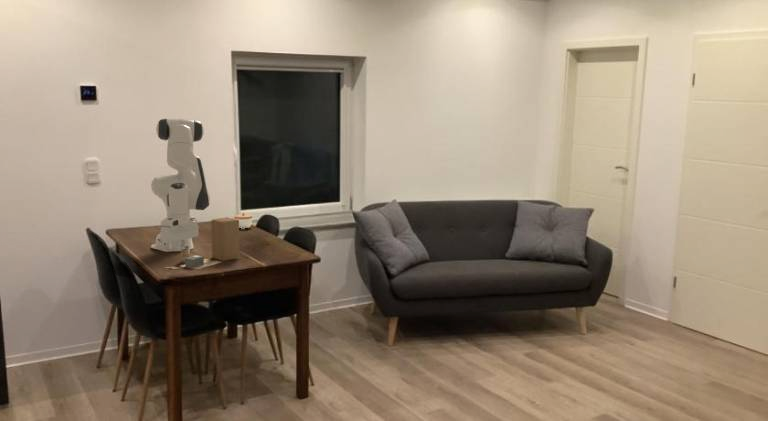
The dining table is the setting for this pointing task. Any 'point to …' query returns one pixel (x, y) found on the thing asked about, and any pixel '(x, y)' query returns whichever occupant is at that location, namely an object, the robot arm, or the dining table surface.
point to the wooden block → (225, 238)
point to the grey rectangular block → (194, 261)
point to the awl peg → (185, 253)
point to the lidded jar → (244, 220)
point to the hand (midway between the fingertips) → (181, 249)
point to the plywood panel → (205, 264)
